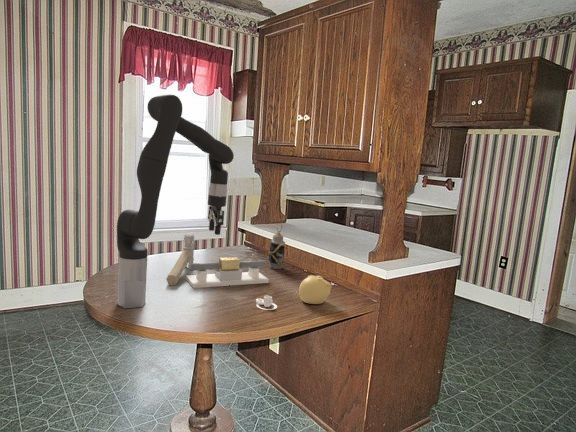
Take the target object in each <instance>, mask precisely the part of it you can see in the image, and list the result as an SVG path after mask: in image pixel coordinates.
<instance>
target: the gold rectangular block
mask: <svg viewBox="0 0 576 432" xmlns="http://www.w3.org/2000/svg"><path fill="white" fill-rule="evenodd" d="M218 262H219V265H220V268H219V269H218V271H219V272H220V271H234V270H240V268H239V264H240V262H241V259H240V258H238V257H236V256H235V257H233V256H232V257H219V258H218Z"/></svg>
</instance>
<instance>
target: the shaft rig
mask: <svg viewBox="0 0 576 432" xmlns="http://www.w3.org/2000/svg"><path fill="white" fill-rule="evenodd" d="M265 267H266V260H250V261H249V260H247V261H245V260H242V261H241V260H240V264H239V270H234V271H220V272H219V271H218V269H219V268H220V265H219V261H217V262H199V263H197V262H195V263H194V262H193V263H192V264H190V268H189V271H191V272H193V271H194V272H195V271H196V273H195V274H191V275H190V274H189V275H187V274H186V275H185V280H186V281H187V282H188V283H189V285H190V286H191V287H192V288H193V289H199V288H212V287H227V286H228V287H229V285H230V286H242V285H256V284H269V282H270V279H269V278H268V277H266V276H265V275H264V274H263V273H261V272H260V268H265ZM243 269H248V271H245V272H243ZM213 270H214V273H208V271H213Z"/></svg>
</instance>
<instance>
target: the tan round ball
mask: <svg viewBox="0 0 576 432" xmlns="http://www.w3.org/2000/svg"><path fill="white" fill-rule="evenodd" d="M331 291H332V284H331V282H329V281H327V280H326V279H324V277H323V276H321V275H313V274H310V275H307V277H305V278H304V279H303V280H302V281H301V282H300V285H299V288H298V294H299V297H300V299H301V301H303V303H305V304H306V303H307V304H311V305H320V304H321V305H322V304H323V303H324V302H325V301H326V300H327V298H328V296H329V295H330V294H331Z"/></svg>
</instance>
